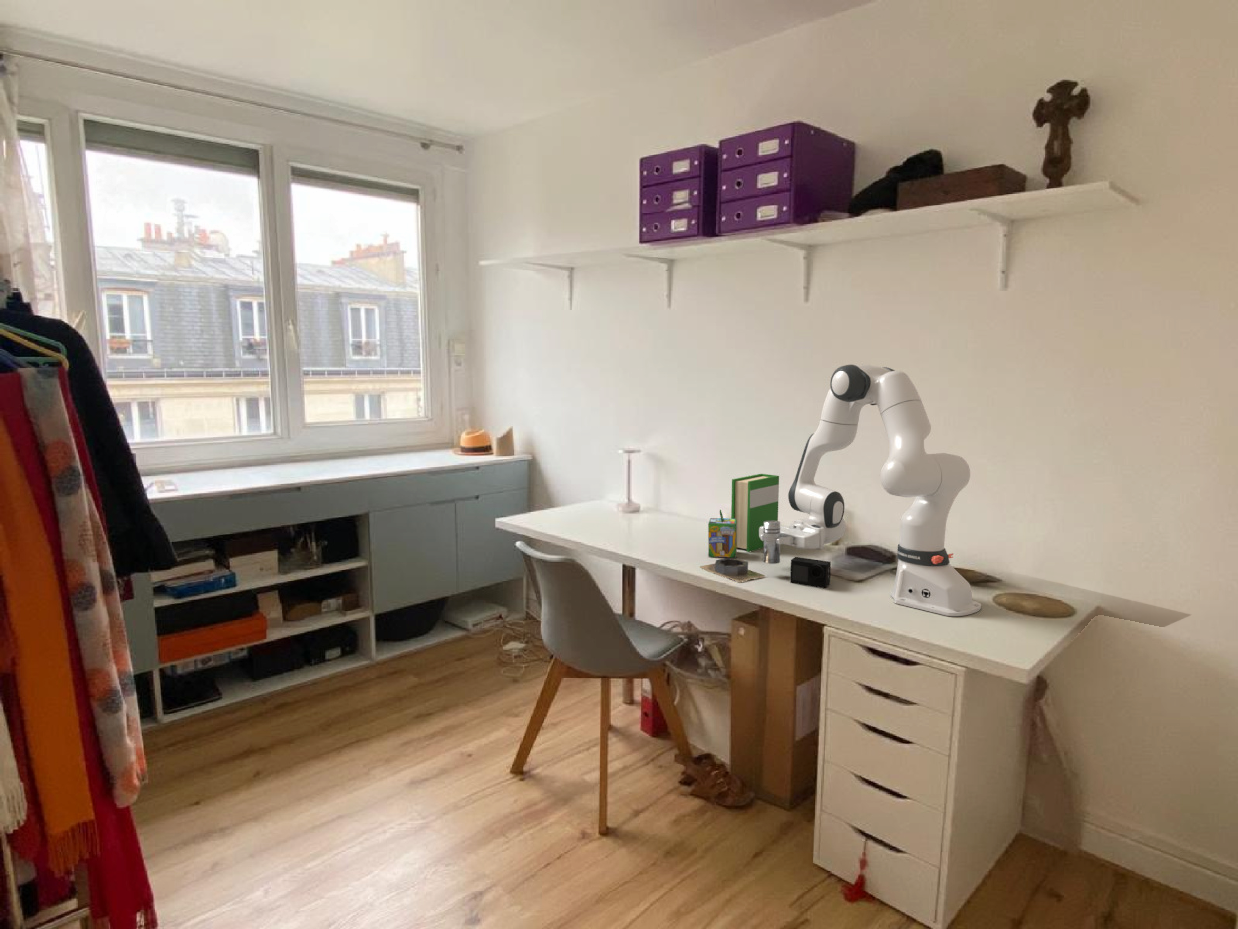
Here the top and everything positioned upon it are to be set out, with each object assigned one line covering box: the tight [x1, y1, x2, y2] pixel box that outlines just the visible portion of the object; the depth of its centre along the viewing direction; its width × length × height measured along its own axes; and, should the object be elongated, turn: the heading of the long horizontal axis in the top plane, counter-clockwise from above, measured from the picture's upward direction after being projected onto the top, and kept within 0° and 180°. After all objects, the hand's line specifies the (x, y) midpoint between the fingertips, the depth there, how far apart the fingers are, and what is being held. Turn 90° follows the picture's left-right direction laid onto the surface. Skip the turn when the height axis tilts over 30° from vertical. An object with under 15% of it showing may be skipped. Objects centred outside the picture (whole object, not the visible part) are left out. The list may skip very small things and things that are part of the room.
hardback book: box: [730, 473, 780, 553], centre depth 254 cm, size 18×7×24 cm, turn 136°
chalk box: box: [707, 509, 738, 559], centre depth 243 cm, size 9×9×15 cm
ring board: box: [699, 557, 766, 583], centre depth 222 cm, size 18×10×3 cm, turn 33°
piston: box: [762, 520, 781, 565], centre depth 218 cm, size 5×5×12 cm
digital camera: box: [789, 556, 832, 589], centre depth 210 cm, size 10×5×7 cm, turn 58°
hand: (769, 539), depth 217 cm, fingers closed on piston, 5 cm apart
